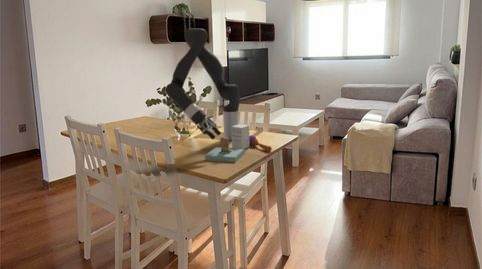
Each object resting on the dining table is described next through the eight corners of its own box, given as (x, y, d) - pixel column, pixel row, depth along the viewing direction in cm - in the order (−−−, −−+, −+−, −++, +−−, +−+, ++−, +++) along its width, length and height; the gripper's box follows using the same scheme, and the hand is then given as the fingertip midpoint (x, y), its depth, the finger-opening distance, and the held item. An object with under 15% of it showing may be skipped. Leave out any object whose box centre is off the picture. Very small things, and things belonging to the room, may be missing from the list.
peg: (222, 155, 204) (222, 136, 202) (230, 155, 203) (229, 137, 201) (220, 157, 200) (219, 138, 198) (227, 158, 199) (227, 139, 197)
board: (215, 151, 211) (215, 147, 211) (244, 153, 207) (244, 148, 206) (205, 160, 196) (205, 155, 196) (235, 162, 192) (235, 157, 191)
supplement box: (239, 145, 224) (238, 123, 221) (250, 147, 219) (249, 125, 216) (231, 148, 218) (231, 126, 215) (242, 150, 214) (241, 127, 211)
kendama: (263, 146, 206) (243, 136, 222) (265, 156, 208) (245, 145, 225) (272, 142, 209) (252, 133, 225) (274, 152, 211) (253, 142, 227)
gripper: (194, 111, 193) (217, 134, 193) (204, 106, 206) (226, 128, 206) (185, 121, 196) (207, 144, 195) (196, 116, 209) (217, 137, 209)
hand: (217, 136), depth 201 cm, fingers open, 8 cm apart
